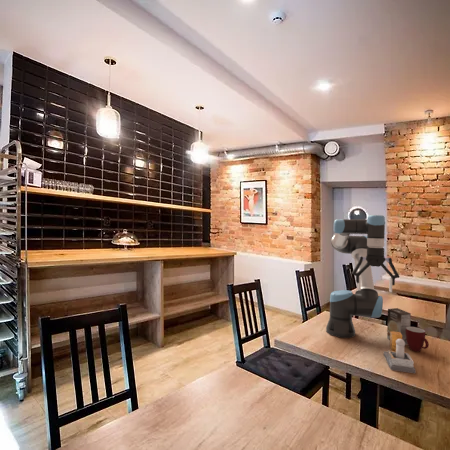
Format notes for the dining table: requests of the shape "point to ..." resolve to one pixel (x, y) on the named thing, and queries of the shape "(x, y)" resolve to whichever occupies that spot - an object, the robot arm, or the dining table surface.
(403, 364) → the tray with orange handle
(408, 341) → the mug
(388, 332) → the coffee box
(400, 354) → the keeper board
